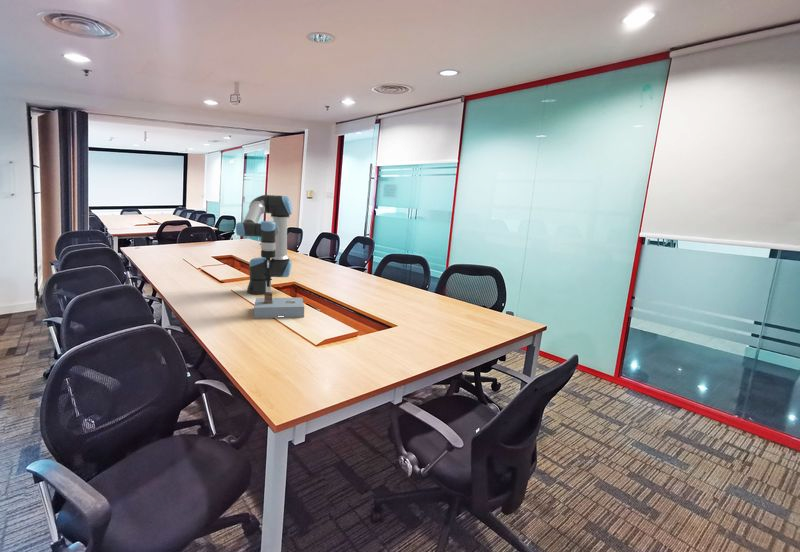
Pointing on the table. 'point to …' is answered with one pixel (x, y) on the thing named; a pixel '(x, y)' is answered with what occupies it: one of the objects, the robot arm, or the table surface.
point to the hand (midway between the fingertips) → (268, 291)
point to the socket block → (279, 308)
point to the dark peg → (268, 298)
